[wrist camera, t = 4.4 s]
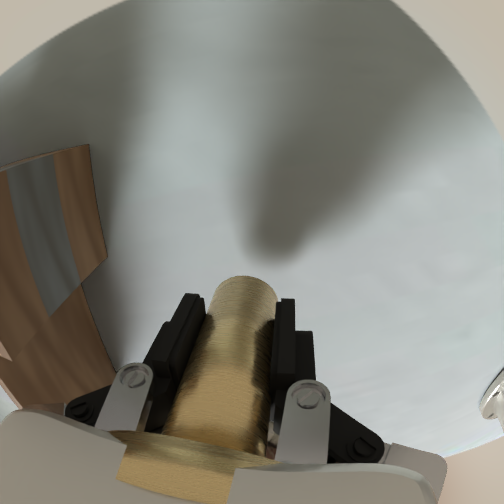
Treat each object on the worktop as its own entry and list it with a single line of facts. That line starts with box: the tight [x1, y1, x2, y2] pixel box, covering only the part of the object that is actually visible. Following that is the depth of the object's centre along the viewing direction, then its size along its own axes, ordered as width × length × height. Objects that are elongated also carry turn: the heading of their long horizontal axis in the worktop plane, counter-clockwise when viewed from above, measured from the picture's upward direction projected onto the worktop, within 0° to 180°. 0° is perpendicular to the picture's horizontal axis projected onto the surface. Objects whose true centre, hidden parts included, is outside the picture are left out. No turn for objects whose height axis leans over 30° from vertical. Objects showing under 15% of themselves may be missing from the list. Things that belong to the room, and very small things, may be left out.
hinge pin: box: [107, 276, 285, 504], centre depth 9 cm, size 6×6×10 cm
